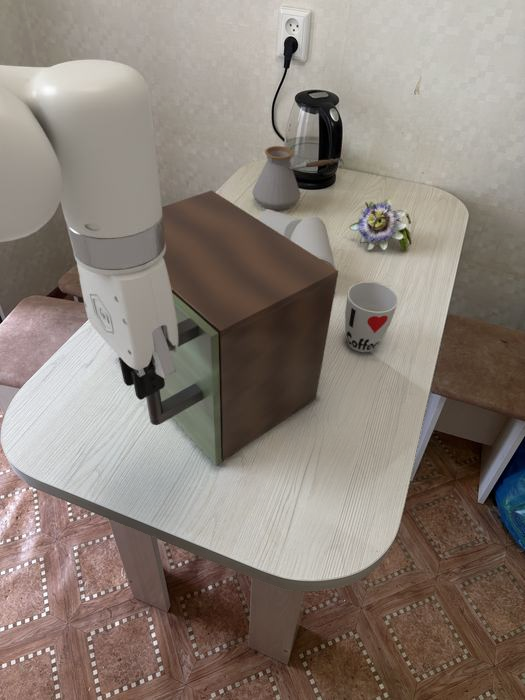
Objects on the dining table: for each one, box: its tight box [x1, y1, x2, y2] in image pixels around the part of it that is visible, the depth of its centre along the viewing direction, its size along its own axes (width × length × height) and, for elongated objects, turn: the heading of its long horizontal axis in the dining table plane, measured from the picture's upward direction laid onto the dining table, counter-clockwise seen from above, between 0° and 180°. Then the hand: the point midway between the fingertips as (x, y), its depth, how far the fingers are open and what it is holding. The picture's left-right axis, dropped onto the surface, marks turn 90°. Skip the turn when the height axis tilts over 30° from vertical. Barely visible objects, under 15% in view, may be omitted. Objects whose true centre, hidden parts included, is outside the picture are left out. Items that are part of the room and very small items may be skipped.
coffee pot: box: [252, 145, 345, 213], centre depth 116 cm, size 21×12×15 cm, turn 59°
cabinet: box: [162, 189, 339, 462], centre depth 72 cm, size 18×26×24 cm
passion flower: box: [349, 196, 412, 252], centre depth 110 cm, size 11×11×12 cm
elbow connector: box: [257, 209, 337, 270], centre depth 100 cm, size 18×10×20 cm
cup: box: [344, 281, 399, 353], centre depth 85 cm, size 8×8×10 cm
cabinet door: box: [145, 293, 223, 466], centre depth 66 cm, size 8×26×24 cm, turn 40°
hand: (144, 384), depth 54 cm, fingers closed on cabinet door
